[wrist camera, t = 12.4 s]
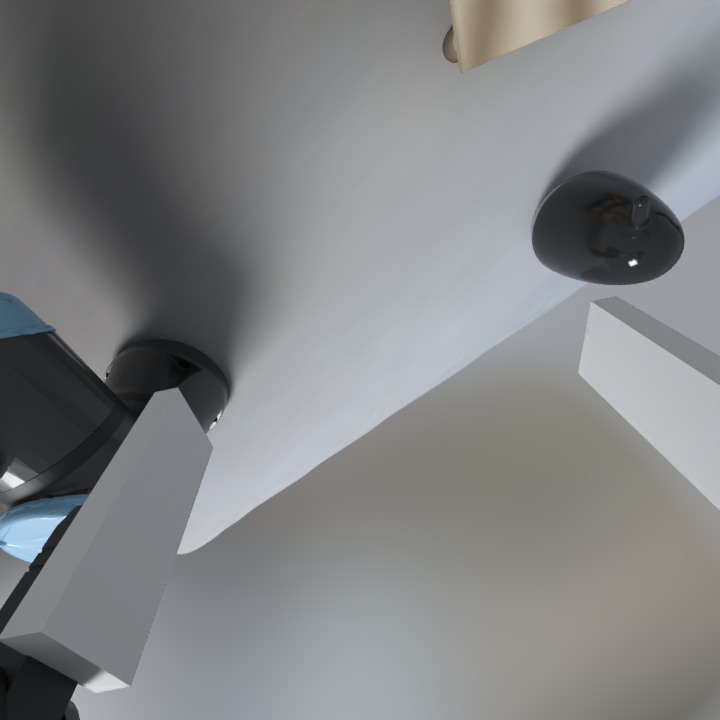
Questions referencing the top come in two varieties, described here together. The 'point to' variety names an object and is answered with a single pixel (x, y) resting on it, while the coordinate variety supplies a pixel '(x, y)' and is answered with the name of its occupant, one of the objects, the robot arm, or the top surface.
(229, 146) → the top surface
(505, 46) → the footstool
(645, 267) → the pump dispenser
